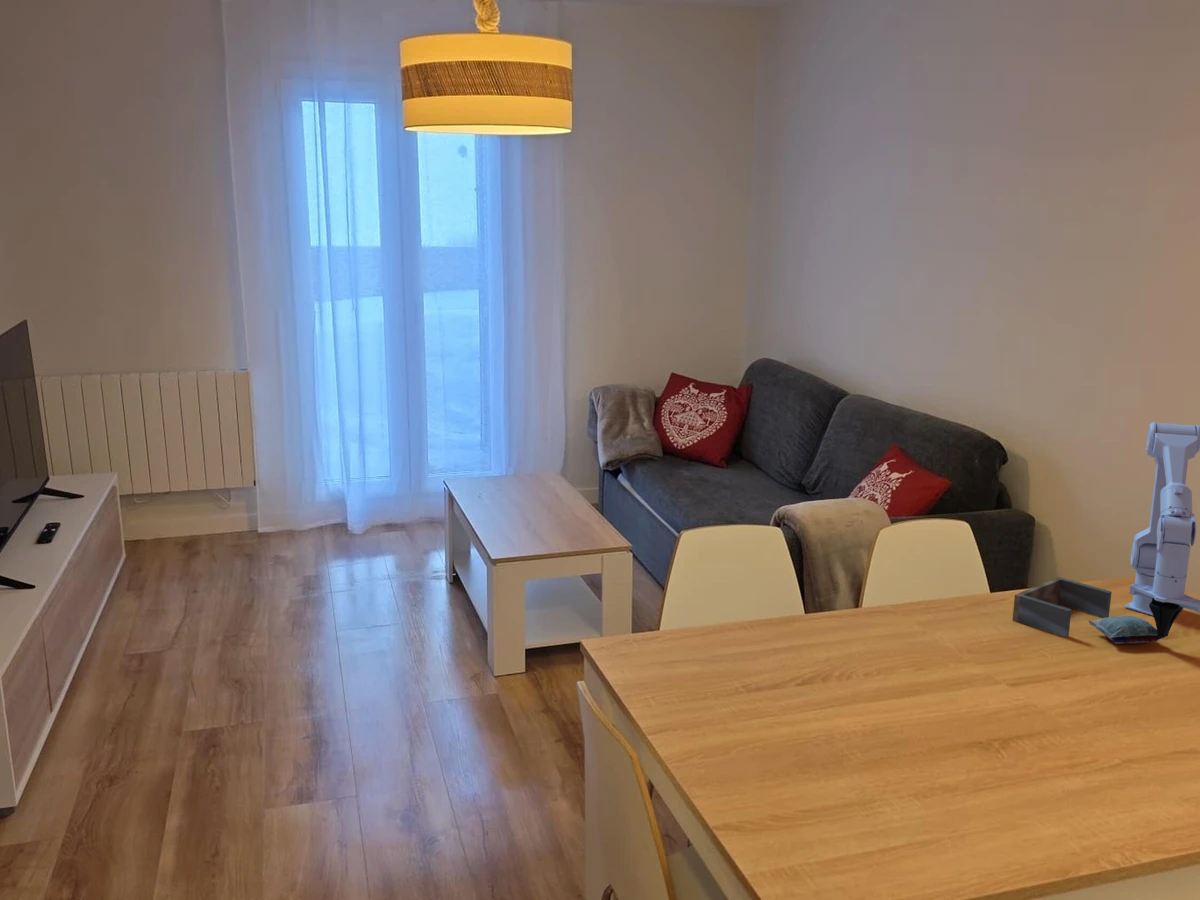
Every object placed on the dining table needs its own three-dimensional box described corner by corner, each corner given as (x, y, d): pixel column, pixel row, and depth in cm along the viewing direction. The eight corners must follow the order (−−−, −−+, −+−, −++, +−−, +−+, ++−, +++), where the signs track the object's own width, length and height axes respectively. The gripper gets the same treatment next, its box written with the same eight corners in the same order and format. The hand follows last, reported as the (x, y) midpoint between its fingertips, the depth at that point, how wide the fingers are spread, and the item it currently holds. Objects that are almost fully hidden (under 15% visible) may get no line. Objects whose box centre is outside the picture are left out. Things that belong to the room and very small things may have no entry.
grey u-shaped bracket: (1056, 601, 242) (1059, 576, 241) (1108, 617, 233) (1111, 591, 232) (1012, 620, 231) (1014, 594, 230) (1065, 637, 222) (1068, 611, 220)
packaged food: (1087, 632, 224) (1090, 610, 223) (1140, 630, 225) (1143, 609, 224) (1109, 649, 216) (1112, 627, 215) (1164, 647, 217) (1167, 625, 216)
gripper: (1125, 568, 215) (1118, 629, 218) (1199, 587, 204) (1191, 652, 207) (1141, 561, 220) (1134, 621, 223) (1215, 579, 209) (1206, 643, 212)
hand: (1162, 635), depth 215 cm, fingers closed
